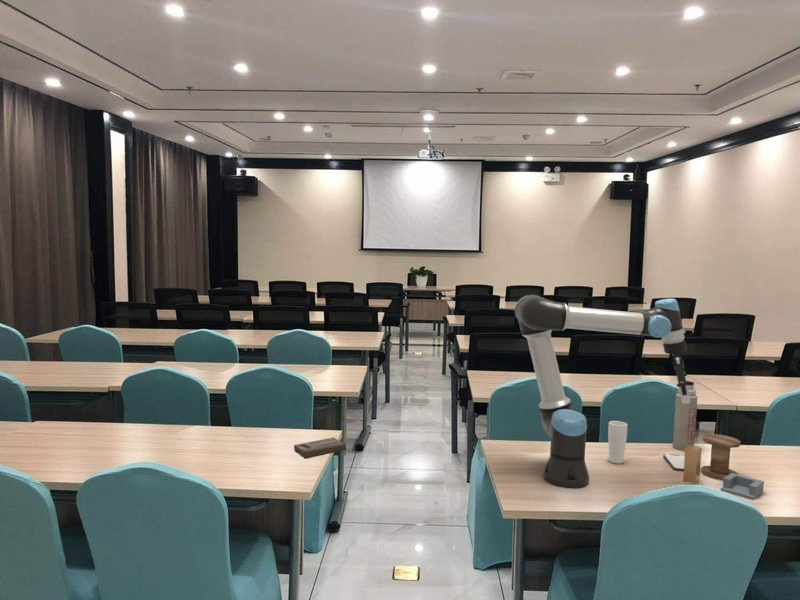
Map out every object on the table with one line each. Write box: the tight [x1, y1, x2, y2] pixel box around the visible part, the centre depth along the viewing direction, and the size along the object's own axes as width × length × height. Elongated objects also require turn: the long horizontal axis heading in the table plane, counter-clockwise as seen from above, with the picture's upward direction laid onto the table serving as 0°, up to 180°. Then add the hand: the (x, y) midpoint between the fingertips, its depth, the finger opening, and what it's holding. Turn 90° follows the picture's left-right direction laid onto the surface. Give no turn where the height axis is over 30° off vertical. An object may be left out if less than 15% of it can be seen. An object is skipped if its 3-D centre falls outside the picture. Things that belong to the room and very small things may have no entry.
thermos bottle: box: [672, 380, 698, 452], centre depth 247 cm, size 8×8×28 cm
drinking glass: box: [607, 420, 628, 465], centre depth 229 cm, size 7×7×15 cm
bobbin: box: [700, 433, 741, 481], centre depth 218 cm, size 12×12×13 cm
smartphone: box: [662, 453, 685, 472], centre depth 229 cm, size 9×2×16 cm
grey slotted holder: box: [720, 473, 765, 500], centre depth 203 cm, size 10×10×4 cm
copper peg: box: [682, 445, 702, 485], centre depth 211 cm, size 4×4×12 cm
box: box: [293, 437, 347, 460], centre depth 232 cm, size 11×17×3 cm, turn 123°
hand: (684, 397), depth 219 cm, fingers open, 13 cm apart
